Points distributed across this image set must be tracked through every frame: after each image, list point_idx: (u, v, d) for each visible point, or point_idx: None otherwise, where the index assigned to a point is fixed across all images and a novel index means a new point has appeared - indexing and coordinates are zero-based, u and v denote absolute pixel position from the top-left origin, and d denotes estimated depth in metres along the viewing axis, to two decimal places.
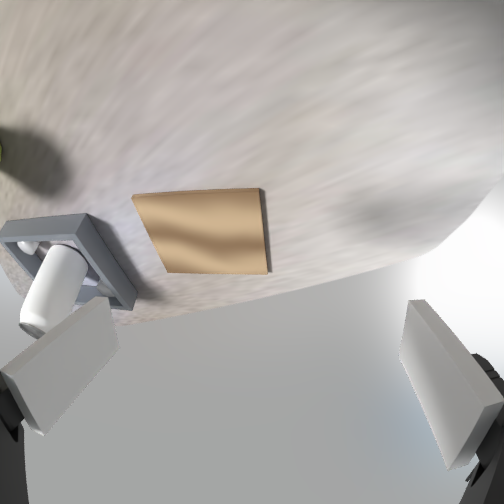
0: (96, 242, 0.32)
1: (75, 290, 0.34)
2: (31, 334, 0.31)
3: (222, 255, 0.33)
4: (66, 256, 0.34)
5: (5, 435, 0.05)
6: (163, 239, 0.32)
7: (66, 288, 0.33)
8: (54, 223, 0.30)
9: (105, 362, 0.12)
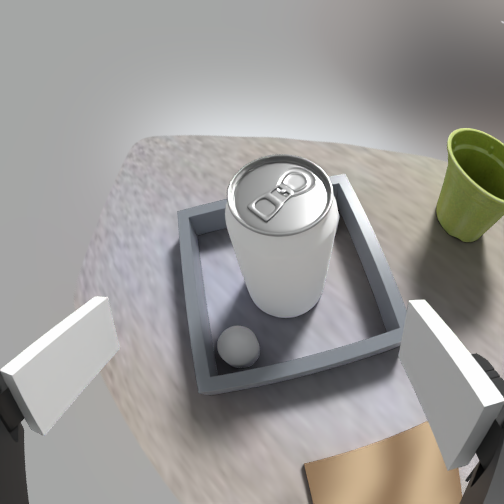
0: (366, 356, 0.21)
1: (287, 298, 0.20)
2: (250, 166, 0.17)
3: None
4: (321, 291, 0.24)
5: (5, 435, 0.05)
6: (385, 457, 0.17)
7: (310, 287, 0.20)
8: None
9: (105, 362, 0.12)
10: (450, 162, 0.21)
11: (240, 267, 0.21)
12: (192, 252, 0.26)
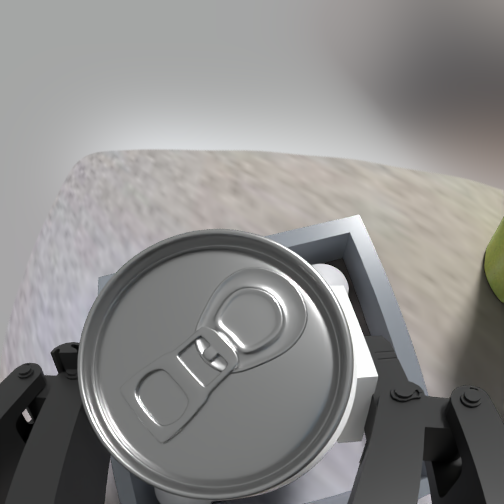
0: None
1: None
2: (141, 262, 0.07)
3: None
4: None
5: (93, 437, 0.06)
6: None
7: None
8: None
9: None
10: None
11: None
12: None
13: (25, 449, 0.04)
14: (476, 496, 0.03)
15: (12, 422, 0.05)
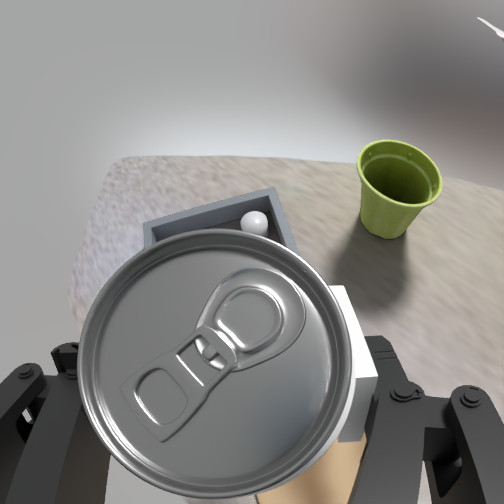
0: None
1: None
2: (141, 262, 0.07)
3: None
4: None
5: (93, 437, 0.06)
6: None
7: None
8: None
9: None
10: None
11: None
12: None
13: (25, 449, 0.04)
14: (476, 496, 0.03)
15: (12, 422, 0.05)
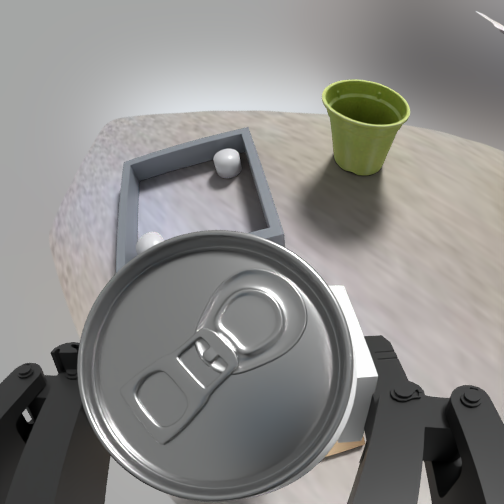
0: None
1: None
2: (141, 263, 0.07)
3: None
4: None
5: (93, 437, 0.06)
6: None
7: None
8: None
9: None
10: None
11: None
12: (129, 186, 0.33)
13: (25, 449, 0.04)
14: (476, 496, 0.03)
15: (12, 422, 0.05)
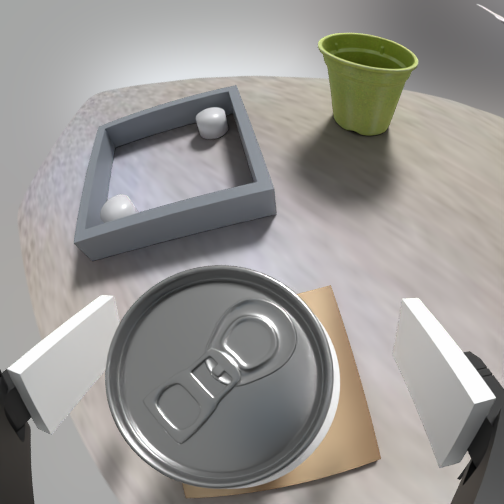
0: (228, 216, 0.23)
1: None
2: (157, 293, 0.08)
3: None
4: None
5: (11, 435, 0.05)
6: None
7: None
8: None
9: None
10: None
11: None
12: (100, 149, 0.27)
13: None
14: None
15: None
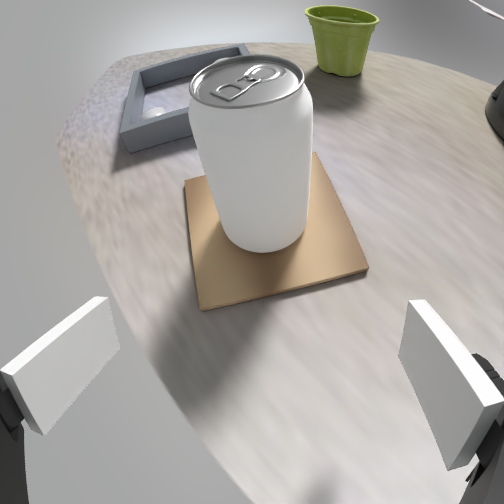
0: None
1: (262, 214, 0.18)
2: (217, 65, 0.14)
3: None
4: (304, 220, 0.21)
5: (5, 435, 0.05)
6: None
7: (287, 200, 0.17)
8: None
9: (105, 362, 0.12)
10: None
11: (208, 180, 0.18)
12: (137, 83, 0.34)
13: None
14: None
15: None
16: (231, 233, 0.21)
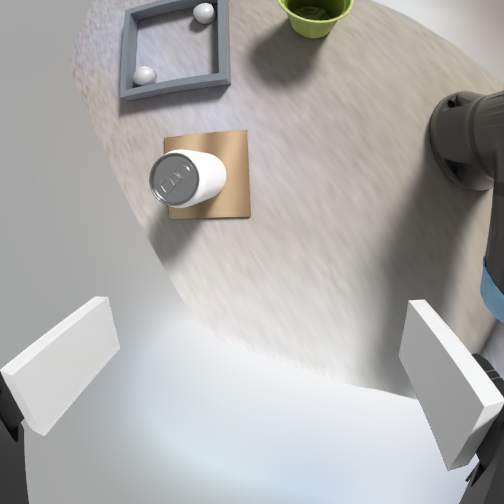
0: (203, 85, 0.38)
1: None
2: (162, 157, 0.30)
3: None
4: (219, 190, 0.41)
5: (5, 435, 0.05)
6: (204, 143, 0.41)
7: None
8: (228, 54, 0.36)
9: (105, 362, 0.12)
10: None
11: None
12: (129, 31, 0.35)
13: None
14: None
15: None
16: None
